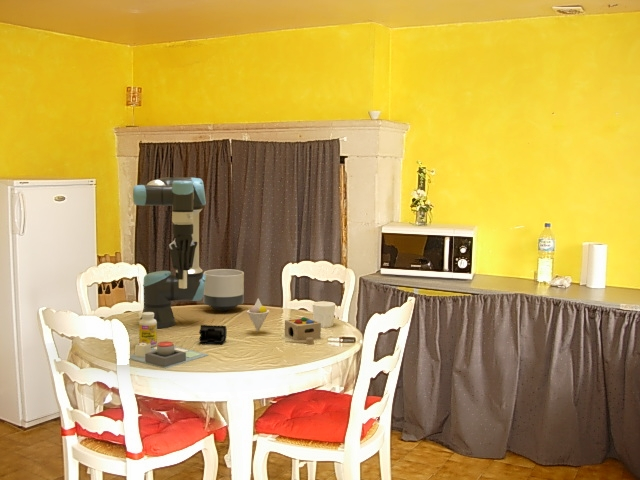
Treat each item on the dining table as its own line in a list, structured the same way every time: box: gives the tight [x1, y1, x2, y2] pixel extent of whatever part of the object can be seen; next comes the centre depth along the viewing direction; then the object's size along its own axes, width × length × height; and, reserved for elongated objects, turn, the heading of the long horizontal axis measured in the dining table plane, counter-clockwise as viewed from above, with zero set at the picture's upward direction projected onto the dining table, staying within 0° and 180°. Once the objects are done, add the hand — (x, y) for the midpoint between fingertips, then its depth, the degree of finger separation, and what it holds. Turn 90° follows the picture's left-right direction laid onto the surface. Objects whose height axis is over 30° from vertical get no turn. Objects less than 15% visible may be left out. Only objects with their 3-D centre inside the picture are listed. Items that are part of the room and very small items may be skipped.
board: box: [129, 345, 209, 369], centre depth 256 cm, size 22×21×1 cm
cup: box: [311, 301, 336, 329], centre depth 307 cm, size 10×10×10 cm
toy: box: [246, 297, 270, 333], centre depth 292 cm, size 9×9×15 cm
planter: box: [202, 268, 245, 311], centre depth 337 cm, size 19×19×18 cm
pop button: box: [156, 340, 175, 357], centre depth 248 cm, size 6×6×4 cm
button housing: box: [145, 350, 186, 368], centre depth 249 cm, size 10×10×3 cm
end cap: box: [198, 324, 228, 346], centre depth 277 cm, size 10×7×7 cm
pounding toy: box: [284, 316, 322, 346], centre depth 283 cm, size 18×17×8 cm
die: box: [134, 342, 152, 357], centre depth 255 cm, size 4×4×4 cm
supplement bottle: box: [138, 312, 158, 348], centre depth 270 cm, size 7×7×13 cm
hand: (182, 287), depth 254 cm, fingers closed
